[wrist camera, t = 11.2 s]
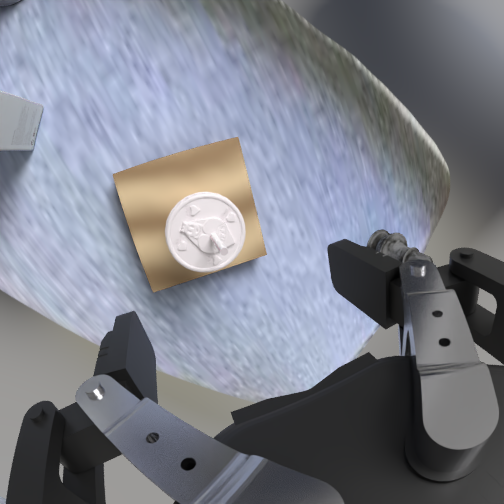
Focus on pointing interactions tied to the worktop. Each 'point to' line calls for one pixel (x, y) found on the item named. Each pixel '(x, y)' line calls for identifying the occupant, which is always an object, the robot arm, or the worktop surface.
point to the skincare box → (18, 122)
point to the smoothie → (205, 232)
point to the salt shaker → (395, 246)
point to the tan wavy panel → (174, 190)
